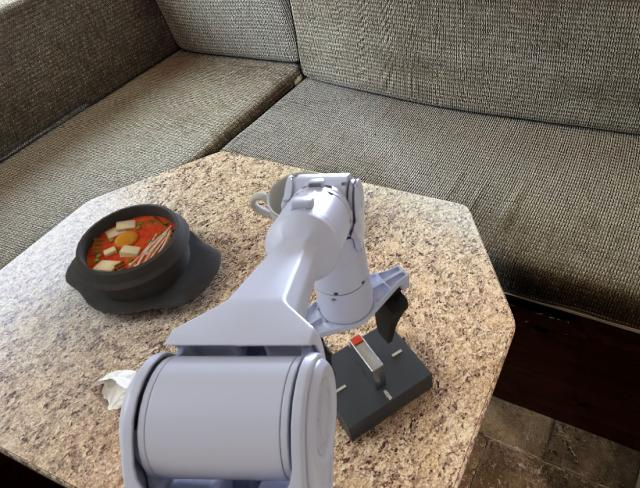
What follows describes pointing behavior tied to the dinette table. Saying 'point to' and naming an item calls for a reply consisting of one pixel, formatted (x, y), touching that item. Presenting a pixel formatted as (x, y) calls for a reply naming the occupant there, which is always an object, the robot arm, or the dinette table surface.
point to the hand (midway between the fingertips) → (357, 354)
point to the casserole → (141, 261)
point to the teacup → (273, 197)
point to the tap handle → (367, 361)
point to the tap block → (378, 404)
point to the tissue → (114, 387)
